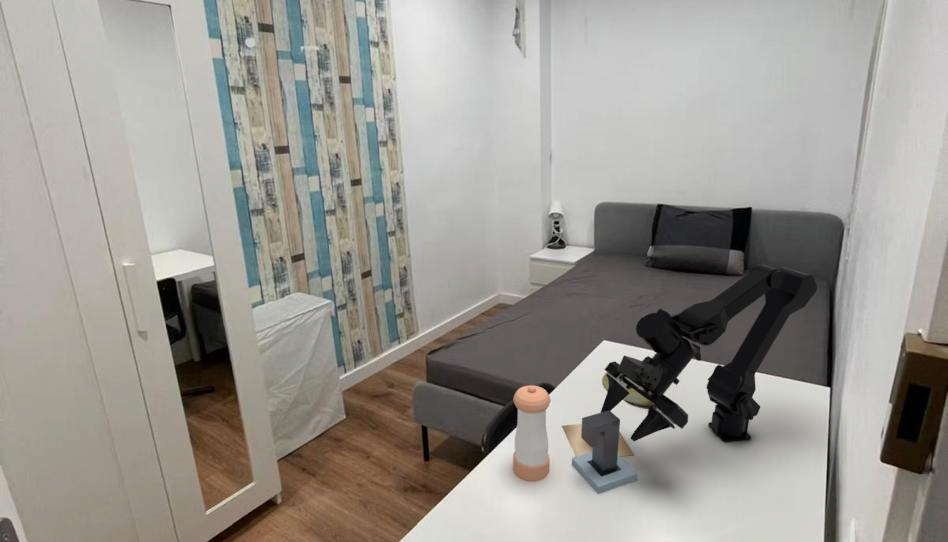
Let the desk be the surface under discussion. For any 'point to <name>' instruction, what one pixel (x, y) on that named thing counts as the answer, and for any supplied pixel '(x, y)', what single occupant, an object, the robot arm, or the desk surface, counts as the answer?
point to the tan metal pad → (583, 448)
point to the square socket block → (606, 482)
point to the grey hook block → (602, 440)
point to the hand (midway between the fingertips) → (616, 426)
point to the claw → (631, 395)
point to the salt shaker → (531, 434)
